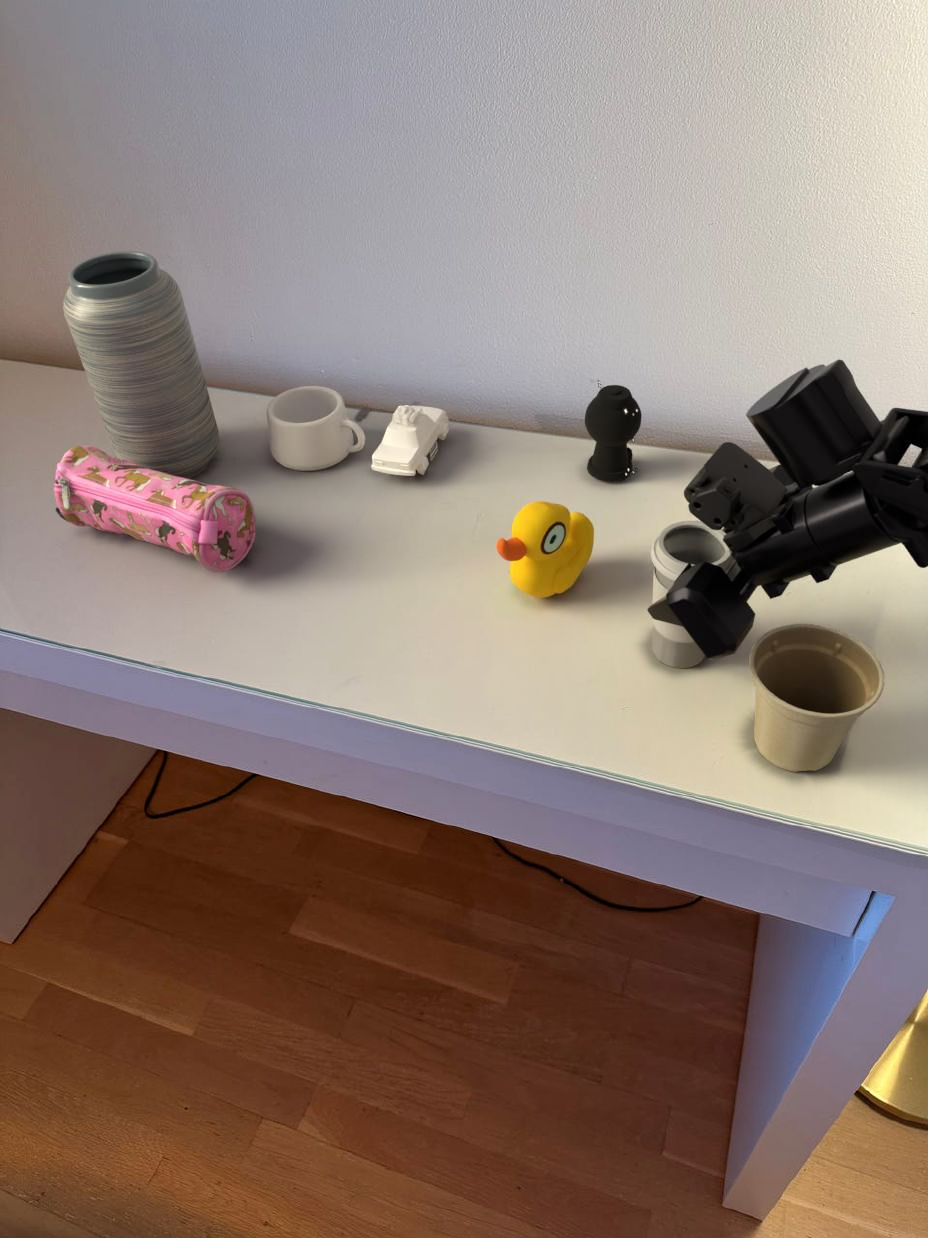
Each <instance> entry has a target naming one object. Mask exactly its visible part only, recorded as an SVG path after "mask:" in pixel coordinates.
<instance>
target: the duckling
mask: <svg viewBox="0 0 928 1238" xmlns="http://www.w3.org/2000/svg"><path fill="white" fill-rule="evenodd" d="M510 532H511V537H510V538H508V539H505V538H502V537H500V538H498V540H497V542H496V550H497V553H498V555H499V556H500V557H501V558H502V559H504V560H505V561H508V562H510V566H509V578H510V580H511V582H512V584H513V585H514V586H515V587H516V588H517V589H518V590H520V591H521V592H522V593H524V594H526V595H528V596H532V597H534V598H539V599H540V598H541V599H543V598H544V599H545V598H549V597H551V596H553V595H555V594H557V595H559V594H562V593H564V592H565V591H567V590H568V589H570V588H571V587H572V586H573V585H574V584H575V582H576V581H577V579H578V578H579V576H580V574H581V573H582V571H583V569H584V567H586V565H587V564H588V562H589V560H590V559H591V557H592V554H593V550H594V541H595V527H594V523H592V521H591V520H590V518H589V517H588V516H587V515H585V514H584V513H582V512H579V511H574V512H570V510H569V508H568V507H566V506H565V505H563V504H560V503H554V502H550V501H549V502H548V501H544V500H537V501H533V502H530V503H528V504H526V505H524V506H523V507H522V508H521V509H520V510H519V511H518V512H517V514H516V515H515V516H514V519H513V521H512V524H511V531H510Z"/></svg>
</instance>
